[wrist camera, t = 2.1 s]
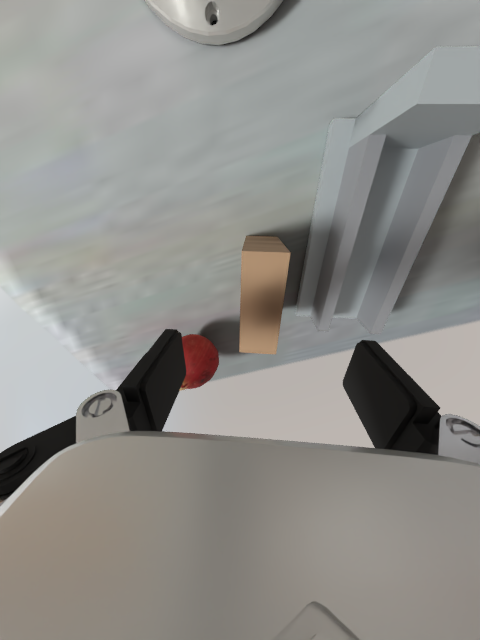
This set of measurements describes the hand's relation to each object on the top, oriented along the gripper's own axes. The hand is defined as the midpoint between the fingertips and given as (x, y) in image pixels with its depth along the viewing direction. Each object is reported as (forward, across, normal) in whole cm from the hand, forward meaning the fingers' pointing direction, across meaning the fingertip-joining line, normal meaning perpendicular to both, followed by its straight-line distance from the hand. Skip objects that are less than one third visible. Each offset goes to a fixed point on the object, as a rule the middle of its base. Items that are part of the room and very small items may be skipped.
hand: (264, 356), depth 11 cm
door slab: (+12, 0, -1) cm, 12 cm away
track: (+12, -9, -5) cm, 16 cm away
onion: (+13, +7, +8) cm, 17 cm away
